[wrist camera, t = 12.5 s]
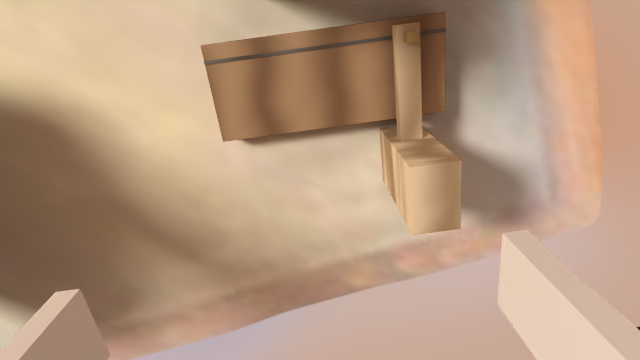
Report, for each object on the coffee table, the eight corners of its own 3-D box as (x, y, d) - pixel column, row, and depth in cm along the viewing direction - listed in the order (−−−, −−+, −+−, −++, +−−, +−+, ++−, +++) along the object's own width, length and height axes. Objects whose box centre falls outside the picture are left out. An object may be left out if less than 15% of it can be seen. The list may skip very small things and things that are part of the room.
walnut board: (228, 135, 39) (223, 142, 37) (207, 44, 36) (200, 45, 33) (436, 106, 39) (445, 111, 36) (435, 13, 35) (445, 11, 33)
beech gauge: (383, 180, 42) (412, 235, 31) (372, 27, 36) (404, 26, 24) (418, 175, 42) (460, 228, 31) (414, 21, 36) (464, 18, 24)
